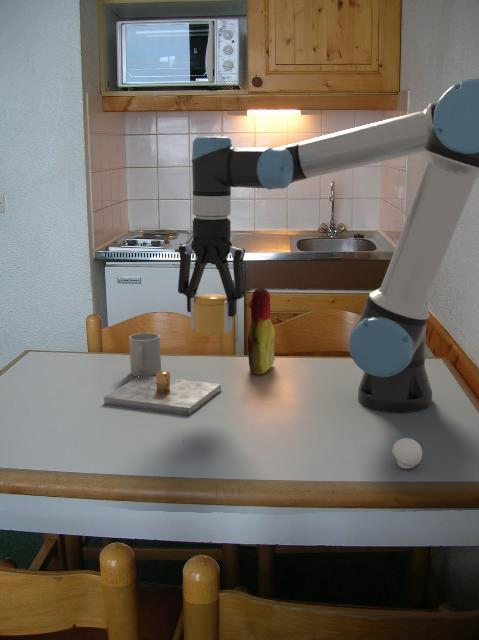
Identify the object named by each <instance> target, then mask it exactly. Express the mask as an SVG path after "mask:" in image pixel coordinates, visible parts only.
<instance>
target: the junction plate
mask: <svg viewBox="0 0 479 640" xmlns="http://www.w3.org/2000/svg"><path fill="white" fill-rule="evenodd" d="M221 391H222V384H221V383H214V382H206V381H205V382H204V381H197V380H187V379H179V378H171V372H170V371H169V370H161V371H158V372H156V375H155V376H145V375H141V376H139V377H138V376H136V378H134V379H132V380H131V381H129V382H127V383H126V384H124V385H122V386H120V387H118V388H117V389H115V390H114V391H112V392H110V393H108V394H107V395H105V396H103V404H104V405H109V406H110V405H111V406H118V407H125V408H127V407H128V408H134V409H141V410H149V411H154V412H155V411H158V412H164V413H165V412H166V413H171V414H172V413H173V414H179V415H186V416H190V415H191V414H193V413H194V412H195V411H197V410H198V409H199V408H200V407H202V406H203V405H204V404H206V403H207V402H208V401H209V400H211V399H212V398H213V397H215V396H216V395H218V394H219V393H220V392H221Z"/></svg>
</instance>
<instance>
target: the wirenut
mask: <svg viewBox="0 0 479 640" xmlns="http://www.w3.org/2000/svg"><path fill="white" fill-rule="evenodd" d="M195 296H196V297H195V302H194V329H193V331H194V332H196V333H197V334H198V335H203V336H204V335H205V336H217V335H218V336H219V335H225V334H226V333H224V301H226V300H227V296H226V294H219V293H217V294H216V293H206V294H199V295H198V294H197V295H195Z"/></svg>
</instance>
